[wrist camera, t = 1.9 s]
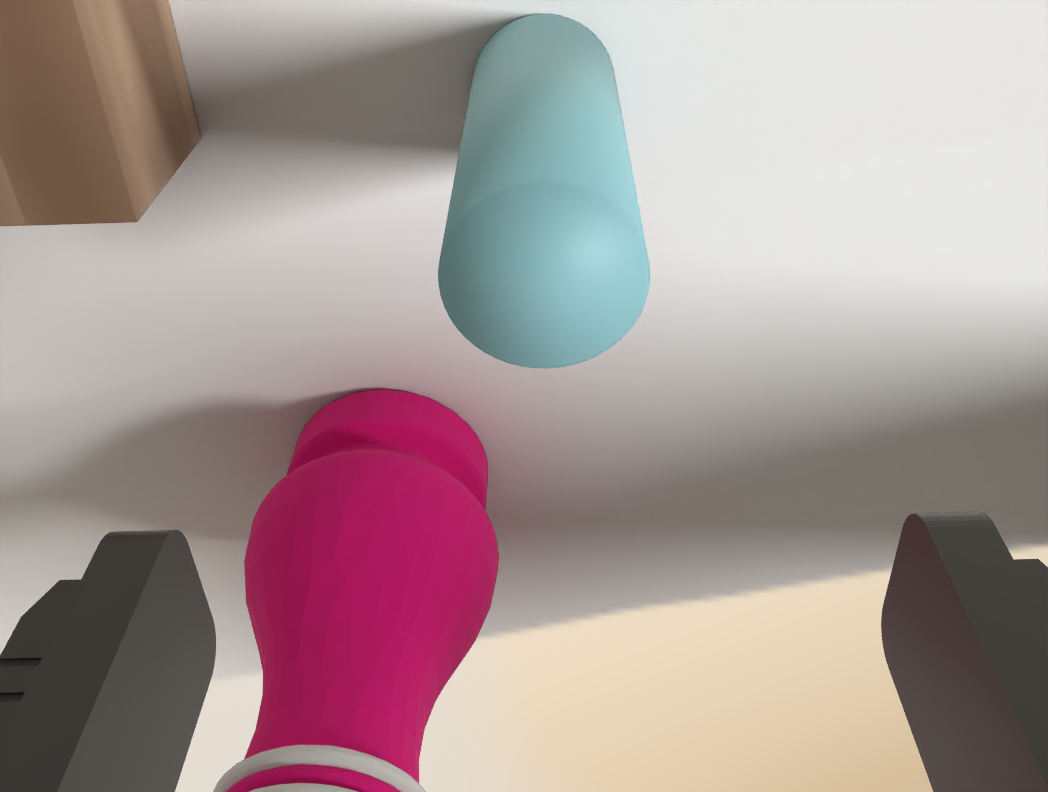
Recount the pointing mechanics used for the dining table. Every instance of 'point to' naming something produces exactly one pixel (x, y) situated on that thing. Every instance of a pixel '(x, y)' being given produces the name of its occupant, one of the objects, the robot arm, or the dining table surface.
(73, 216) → the socket block
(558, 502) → the dining table surface
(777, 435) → the dining table surface
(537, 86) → the peg
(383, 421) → the pepper mill
